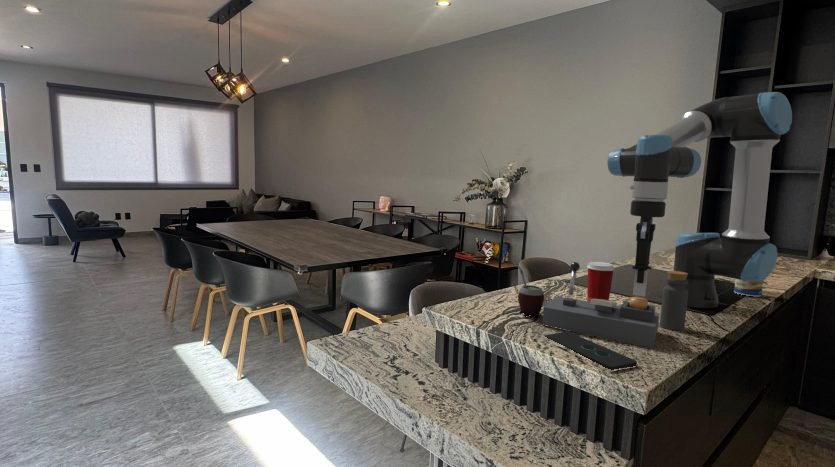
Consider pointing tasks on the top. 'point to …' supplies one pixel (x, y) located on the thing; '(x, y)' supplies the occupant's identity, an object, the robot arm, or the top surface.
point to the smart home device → (592, 351)
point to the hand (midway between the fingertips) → (639, 295)
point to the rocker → (603, 302)
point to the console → (604, 320)
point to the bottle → (674, 301)
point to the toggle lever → (573, 276)
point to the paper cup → (599, 280)
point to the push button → (638, 303)
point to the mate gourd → (530, 298)
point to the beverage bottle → (748, 288)
